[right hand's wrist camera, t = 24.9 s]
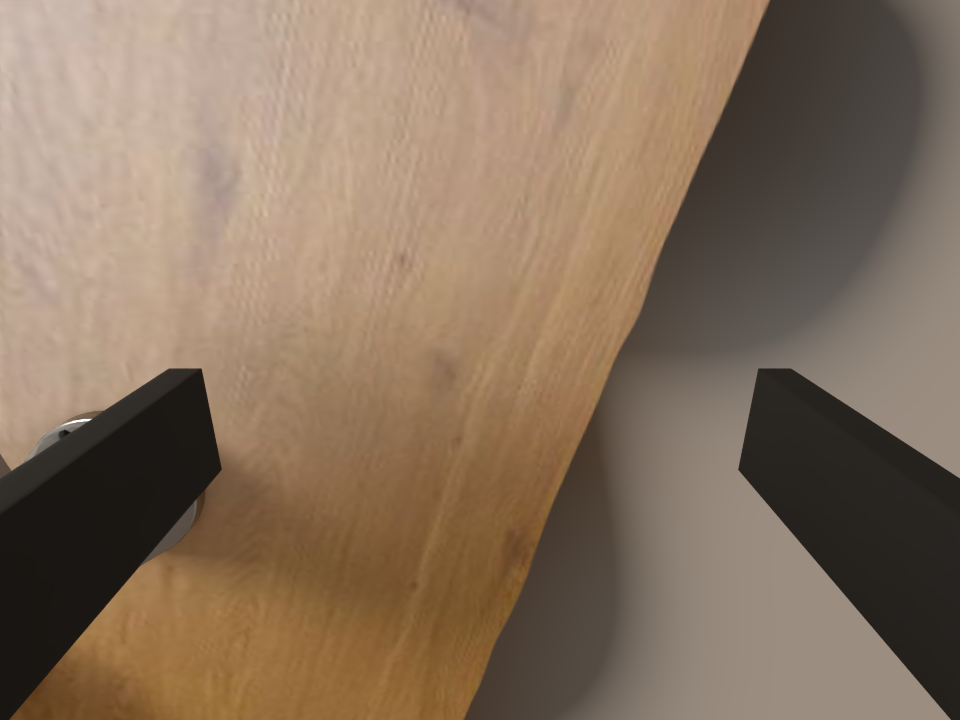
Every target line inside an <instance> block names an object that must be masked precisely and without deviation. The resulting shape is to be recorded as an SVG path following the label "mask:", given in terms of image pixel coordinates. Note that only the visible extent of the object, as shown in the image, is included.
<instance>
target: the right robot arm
mask: <svg viewBox="0 0 960 720" xmlns="http://www.w3.org/2000/svg"><path fill="white" fill-rule="evenodd" d="M221 470H222V469H221V464H220V459H219V454H218V448H217V443H216V438H215V433H214V428H213V423H212V418H211V413H210V408H209V403H208V398H207V393H206V388H205V383H204V378H203V373H202V369H168V370H166V371H165V372H163V373H162V374H160V375H158V376H157V377H155V378H154V379H152V380H151V381H149V382H148V383H146V384H145V385H143V386H142V387H140V388H138V389H137V390H135V391H134V392H132V393H131V394H129V395H128V396H126V397H125V398H123V399H122V400H120V401H119V402H117V403H115V404H114V405H112V406H111V407H109V408H108V409H106V410H105V411H97V412H90V413H85V414H81V415H78V416H76V417H73V418H71V419H69V420H68V421H66V422H64V423H63V424H61V425H59V426H58V427H56V428H55V429H53V430H51V431H50V432H49V433H47V434H46V435H45V436H44V437H43V438H41V440H40V441H39V442H38V443H37V445H36V446H35V448H34V449H33V450H32V452H31V453H30V455H29V456H28V457H27V459H26V460H25V461H24V463H23V464H22V465H20V466H19V467H17V468H16V469H14V470H13V471H11V470H10V468H9V467H8V465H7V464H6V462H5V461H4V459H3V458H2V456H1V455H0V720H9V719H10V718H11V717H12V716H13V714H14V713H15V712H16V711H17V710H18V708H19V707H20V706H21V705H22V704H23V703H24V701H25V700H26V699H27V698H28V697H29V696H30V694H31V693H32V692H33V691H34V690H35V689H36V687H37V686H38V685H39V684H40V683H41V681H42V680H43V679H44V678H45V677H46V676H47V674H48V673H49V672H50V671H51V670H52V669H53V667H54V666H55V665H56V664H57V663H58V661H59V660H60V659H61V658H62V657H63V656H64V654H65V653H66V652H67V651H68V650H69V649H70V647H71V646H72V645H73V644H74V643H75V642H76V640H77V639H78V638H79V637H80V636H81V634H82V633H83V632H84V631H85V630H86V629H87V627H88V626H89V625H90V624H91V623H92V622H93V620H94V619H95V618H96V617H97V616H98V614H99V613H100V612H101V611H102V610H103V609H104V607H105V606H106V605H107V604H108V603H109V602H110V600H111V599H112V598H113V597H114V596H115V594H116V593H117V592H118V591H119V590H120V589H121V587H122V586H123V585H124V584H125V583H126V582H127V580H128V579H129V578H130V577H131V576H132V575H133V573H134V572H135V571H136V570H137V569H138V567H139V566H141V565H143V564H144V563H146V562H148V561H149V560H151V559H153V558H154V557H156V556H158V555H159V554H161V553H163V552H164V551H166V550H168V549H169V548H171V547H173V546H174V545H175V544H177V543H178V542H179V541H180V540H181V539H182V538H183V537H184V536H185V535H186V533H187V532H188V531H189V530H190V528H191V527H192V526H193V525H194V523H195V522H196V520H197V519H198V517H199V515H200V513H201V511H202V507H203V503H204V490H205V489H206V488H207V486H208V485H209V484H210V483H211V482H212V481H213V479H214V478H215V477H216V476H217V475H218V473H219V472H220V471H221ZM738 470H739V471H740V472H741V473H742V475H743V476H744V477H745V478H746V479H747V481H748V482H749V483H750V484H751V485H752V486H753V488H754V489H755V490H756V491H757V492H758V493H759V495H760V496H761V497H762V498H763V499H764V500H765V502H766V503H767V504H768V505H769V506H770V507H771V509H772V510H773V511H774V512H775V513H776V515H777V516H778V517H779V518H780V519H781V520H782V522H783V523H784V524H785V525H786V526H787V527H788V529H789V530H790V531H791V532H792V533H793V535H794V536H795V537H796V538H797V539H798V540H799V542H800V543H801V544H802V545H803V546H804V547H805V549H806V550H807V551H808V552H809V553H810V555H811V556H812V557H813V558H814V559H815V560H816V562H817V563H818V564H819V565H820V566H821V567H822V569H823V570H824V571H825V572H826V573H827V575H828V576H829V577H830V578H831V579H832V580H833V581H834V583H835V584H836V585H837V586H838V587H839V589H840V590H841V591H842V592H843V593H844V594H845V596H846V597H847V598H848V599H849V600H850V602H851V603H852V604H853V605H854V606H855V607H856V609H857V610H858V611H859V612H860V613H861V614H862V616H863V617H864V618H865V619H866V620H867V622H868V623H869V624H870V625H871V626H872V627H873V629H874V630H875V631H876V632H877V633H878V634H879V636H880V637H881V638H882V639H883V640H884V642H885V643H886V644H887V645H888V646H889V647H890V648H891V650H892V651H893V652H894V653H895V654H896V656H897V657H898V658H899V659H900V660H901V661H902V663H903V664H904V665H905V666H906V667H907V669H908V670H909V671H910V672H911V673H912V674H913V676H914V677H915V678H916V679H917V680H918V681H919V683H920V684H921V685H922V686H923V687H924V689H925V690H926V691H927V692H928V693H929V694H930V696H931V697H932V698H933V699H934V700H935V701H936V703H937V704H938V705H939V706H940V707H941V708H942V710H943V711H944V712H945V713H946V714H947V716H948V717H949V718H950V719H951V720H960V478H958V477H957V476H955V475H954V474H952V473H951V472H949V471H947V470H946V469H944V468H943V467H941V466H940V465H938V464H937V463H935V462H934V461H932V460H931V459H929V458H927V457H926V456H924V455H923V454H921V453H920V452H918V451H917V450H915V449H914V448H912V447H911V446H909V445H908V444H906V443H904V442H903V441H901V440H900V439H898V438H897V437H895V436H894V435H892V434H891V433H889V432H888V431H886V430H884V429H883V428H881V427H880V426H878V425H877V424H875V423H874V422H872V421H871V420H869V419H868V418H866V417H865V416H863V415H861V414H860V413H858V412H857V411H855V410H854V409H852V408H851V407H849V406H848V405H846V404H844V403H843V402H841V401H840V400H838V399H837V398H835V397H834V396H832V395H831V394H829V393H828V392H826V391H825V390H823V389H822V388H820V387H818V386H817V385H815V384H814V383H812V382H811V381H809V380H808V379H806V378H805V377H803V376H802V375H800V374H798V373H797V372H795V371H794V370H792V369H758V373H757V378H756V383H755V388H754V393H753V398H752V403H751V408H750V414H749V419H748V423H747V429H746V433H745V438H744V443H743V449H742V454H741V459H740V464H739V469H738Z"/></svg>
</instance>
